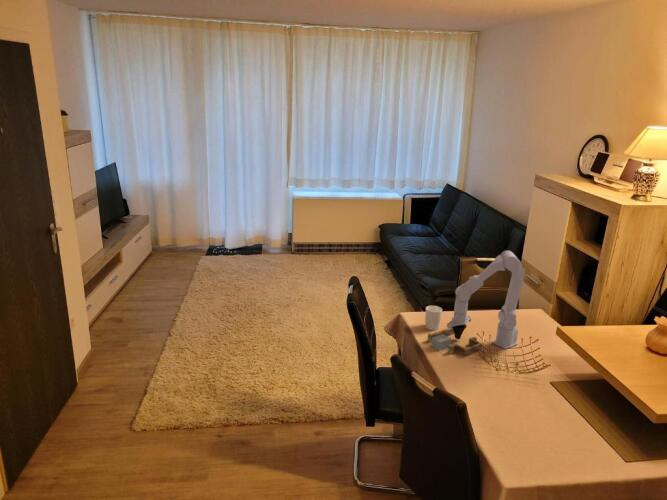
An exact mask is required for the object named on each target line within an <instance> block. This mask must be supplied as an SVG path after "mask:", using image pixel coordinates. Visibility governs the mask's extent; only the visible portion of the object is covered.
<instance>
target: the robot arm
mask: <svg viewBox="0 0 667 500" xmlns="http://www.w3.org/2000/svg"><path fill="white" fill-rule="evenodd" d="M506 270H508V271H509V272H510V273H511V277H510V279H509V280H510V281H509V286H508V289H507V293H506V296H505V301H504V305H502V307H501V310H500V311H499V312H498V314H497V316H498V320H499V322H498V324H497V329H496V330H497V331H496V337H495V339H494V340H492V341H491V343H492V344H495V345H496V346H497V347H501V348H502V349H505V350H506V349H509V348H512V347H514V346H517V345H518V344H519V342H518V333H519V328H518V327H517V306H518V302H519V298H520V295H521V291H522V286H523V282H524V278H525V275H526V273H525V269H524V267H523V265H522V261H520V259H519V258H518V256H517V255H516V254H515V253H514V252H512V251H511V250H504V251H502V252H501V254H498V255H497V256H496V257H495V259H494V260H493V261H492V262H490V264H488V265H487V267H485V268H484V270H482V271H481V272H480V273H479V274H478V275H477V274H476V275H473V276H469V277H468V278H469V279H468V280H466V281H465V283H462V284H461V285H459V286H457V287H456V289H455V290H454V294H455V295H456V296H455V301H454V309H453V317H451V320H450V321H449V322H447V324H446V329H447V328H449V329H451V328H453V330H454V334H453V335H454V338H455V339H456V340H460V339H461V338H462V335H463V333H464V331H465V330H466V329H467V323H468V322H472V317H471V316H467V313H468V308H469V307H468V306H469V301H470V299H471V296H472V295H473V294H474V293H475V292H476V291H477V290H478V289H480V288H481V287H482V286H484V281H485V280H486V279H488V278H489V277H491V276H492V275H494V274H495V273H496V272H497V271H503V272H504V271H506Z"/></svg>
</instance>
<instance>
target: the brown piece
mask: <svg viewBox="0 0 667 500" xmlns="http://www.w3.org/2000/svg"><path fill="white" fill-rule="evenodd" d="M442 334H444V335H446V336H447V337H450V336H451V335H454V330H453V328H451V329H449V328H447V327H446V328H445V329H442V330H439V331H436V332H433V333H430V332H429V333H427V342H429V343H432V338H433V337H436V336H439V335H442ZM468 345H469V346H466V347H464V346H462V345H460V344H457V343H454V344H451V343H450V344H449V346H448V348H447V352H448V353H449V354H451V355H452V354H454V353H458V354H460V355H463V356H464V357H466V356H469V355H472V354H475V353H476V351H477V352H479V351H481V350H482V348H483V343H481V342H480V341H478V338H477V337H476V336H472V337H470V338H469V339H468Z"/></svg>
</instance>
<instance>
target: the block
mask: <svg viewBox="0 0 667 500" xmlns="http://www.w3.org/2000/svg"><path fill="white" fill-rule="evenodd" d="M451 340H452V338H451V337H450V336H446V335H444V334H442V335H439V336H436V337H433V338H432V342H431V347H432V348H433V349H435V350H437V351H438V352H440V351H443V350H447V349H448V346H449V344H451V343H452V341H451Z"/></svg>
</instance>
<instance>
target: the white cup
mask: <svg viewBox="0 0 667 500" xmlns="http://www.w3.org/2000/svg"><path fill="white" fill-rule="evenodd" d="M442 313H443V308H442V307H440V306H438V305H428V306H426V307H425V317H424V320H425V321H424V322H425V325H424V326H425V328H426V329H427V330H430V331H437V330H439V329H440V325H441V320H442Z"/></svg>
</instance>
